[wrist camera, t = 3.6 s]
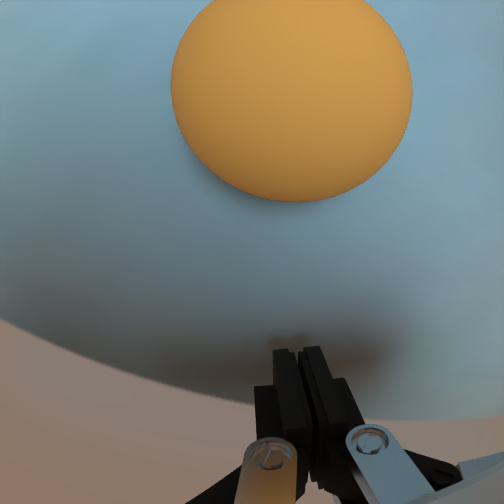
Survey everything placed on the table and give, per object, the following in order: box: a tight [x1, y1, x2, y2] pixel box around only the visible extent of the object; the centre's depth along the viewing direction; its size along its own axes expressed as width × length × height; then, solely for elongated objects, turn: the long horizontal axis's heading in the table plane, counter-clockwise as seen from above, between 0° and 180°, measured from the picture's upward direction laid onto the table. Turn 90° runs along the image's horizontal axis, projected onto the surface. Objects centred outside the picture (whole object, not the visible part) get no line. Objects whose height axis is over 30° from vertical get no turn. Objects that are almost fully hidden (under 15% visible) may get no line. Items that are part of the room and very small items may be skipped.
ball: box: [171, 0, 412, 202], centre depth 7 cm, size 6×6×6 cm
